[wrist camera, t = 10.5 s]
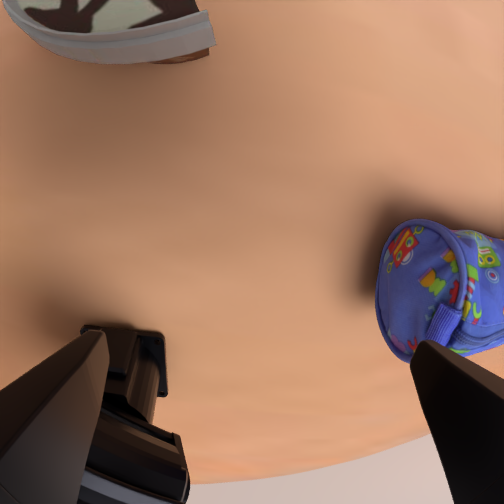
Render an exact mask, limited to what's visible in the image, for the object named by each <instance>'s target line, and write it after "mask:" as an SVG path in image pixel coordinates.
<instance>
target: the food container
mask: <svg viewBox="0 0 504 504" xmlns="http://www.w3.org/2000/svg"><path fill="white" fill-rule="evenodd" d="M2 1H3V4H4V7H5V9H6V11H7V12H8V14H9V15H10V17H11V19H12V20H13V21H14V22H15V23H16V24H17V25H18V26H19V27H20V28H21V29H22V30H23V31H24V32H26V33H27V34H28V35H29V36H30V37H31V38H32V39H33V40H35V41H36V42H37V43H38V44H39V45H40V46H42V47H44V48H46V49H48V50H49V51H51V52H53V53H55V54H57V55H60V56H63V57H67V58H70V59H73V60H76V61H82V62H90V63H97V64H134V63H142V62H149V63H155V64H173V63H182V62H187V61H192V60H196V59H199V58H202V57H205V56H208V55H209V47H212V46H215V45H216V41H215V37H214V33H213V28H212V25H211V23H210V21H209V17H208V12H207V10H204V11H199V9H198V8H197V6H196V2H195V0H2Z"/></svg>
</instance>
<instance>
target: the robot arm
mask: <svg viewBox="0 0 504 504" xmlns="http://www.w3.org/2000/svg"><path fill="white" fill-rule="evenodd" d="M86 331H87V332H86ZM80 334H81V336H79V337H78V338H76V339H75V340H73V341H72V342H70V343H69V344H67V345H66V346H64V347H63V348H61V349H60V350H58V351H57V352H55V353H54V354H52V355H51V356H50V357H48V358H47V359H45V360H44V361H42V362H41V363H39V364H38V365H36V366H35V367H33V368H32V369H31V370H29V371H28V372H26V373H25V374H23V375H22V376H20V377H19V378H18V379H16V380H15V381H13V382H12V383H10V384H9V385H8V386H6V387H5V388H3V389H2V390H0V504H186V501H187V499H188V496H189V490H190V476H189V472H188V468H187V464H186V460H185V456H184V451H183V447H182V442H181V438H180V435H177V434H175V433H173V432H172V433H170V432H167V431H165V430H163V429H160V428H158V427H156V426H154V425H152V422H153V416H154V410H155V404H156V398H157V397H166V396H167V395H168V381H167V366H166V348H165V337H164V336H163V335H161V334H158V333H148V332H138V331H130V330H121V329H113V328H105V327H98V326H91V325H84V326H83V327H82V328H81V330H80ZM156 340H160V342H158V341H156ZM410 370H411V373H412V376H413V380H414V383H415V387H416V390H417V394H418V397H419V401H420V404H421V407H422V410H423V413H424V415H425V418H426V421H427V423H428V426H429V429H430V431H431V434H432V437H433V440H434V443H435V445H436V448H437V451H438V454H439V457H440V460H441V463H442V466H443V468H444V472H445V475H446V478H447V481H448V485H449V488H450V491H451V495H452V498H453V501H454V504H504V379H502V378H501V377H499V376H497V375H495V374H493V373H492V372H490V371H488V370H486V369H484V368H483V367H481V366H479V365H477V364H475V363H474V362H472V361H470V360H468V359H466V358H465V357H463V356H461V355H459V354H457V353H456V352H454V351H452V350H450V349H448V348H447V347H445V346H443V345H441V344H439V343H437V342H436V341H434V340H422V341H420V342H419V343H418V345H417V348H416V350H415V352H414V354H413V356H412V358H411V360H410ZM161 391H162V392H161Z"/></svg>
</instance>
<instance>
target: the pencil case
mask: <svg viewBox="0 0 504 504" xmlns="http://www.w3.org/2000/svg"><path fill="white" fill-rule="evenodd" d="M375 309H376V315H377V320H378V324H379V327H380V330H381V333H382V335H383V337H384V339H385V341H386V343H387V345H388V346H389V348H390V349H391V351H392V352H393V353H394V354H395V355H396V356H397V357H398V358H399V359H401V360H402V361H404V362H406V363H409V364H410V360H411V358H412V356H413V354H414V352H415V350H416V348H417V345H418V343H419V342H420V341H422V340H434V341H436V342H437V343H439V344H441V345H443V346H445V347H447V348H448V349H450V350H452V351H454V352H456V353H457V354H459V355H461V356H463V357H465V356H470V355H473V354H475V353H479V352H482V351H485V350H489V349H493V348H495V347H498V346H500V345H502V344H504V239H497V238H492V237H489V236H486V235H484V234H482V233H480V232H477V231H473V230H450V229H448V228H447V227H445V226H443V225H441V224H439V223H437V222H434V221H431V220H427V219H411V220H408V221H406V222H404V223H401V224H400V225H399V226H397V227H396V228H395V229H394V230H393V232H392V233H391V234H390V236H389V238H388V240H387V242H386V243H385V245H384V247H383V250H382V254H381V259H380V264H379V272H378V277H377V282H376V289H375Z"/></svg>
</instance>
